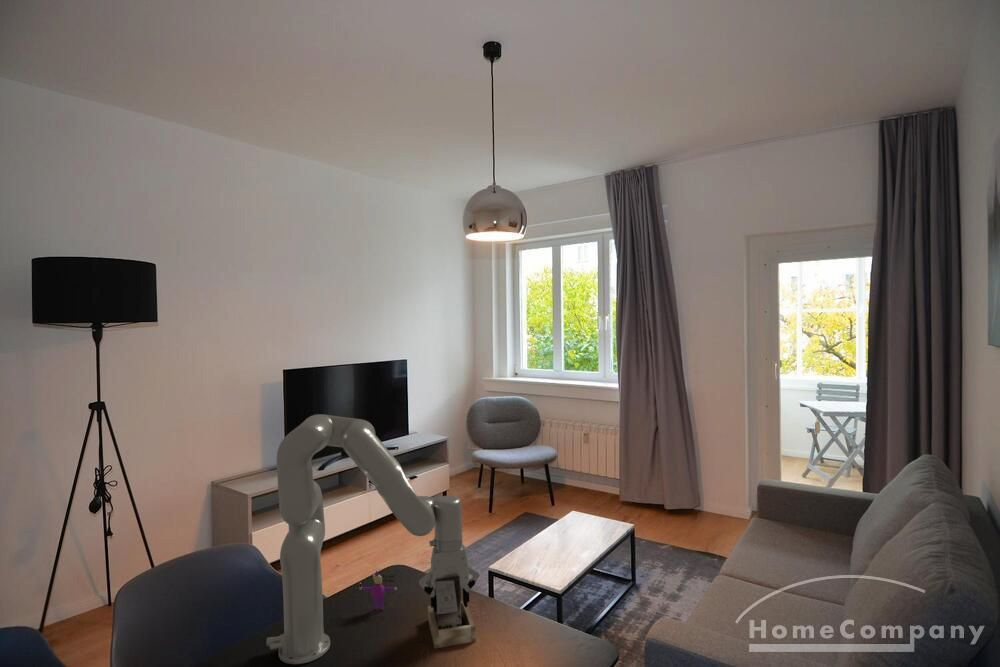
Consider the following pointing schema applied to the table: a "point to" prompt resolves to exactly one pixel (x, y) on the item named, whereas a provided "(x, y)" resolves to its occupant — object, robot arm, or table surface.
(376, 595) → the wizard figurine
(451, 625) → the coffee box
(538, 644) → the table surface
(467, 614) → the open wooden box
